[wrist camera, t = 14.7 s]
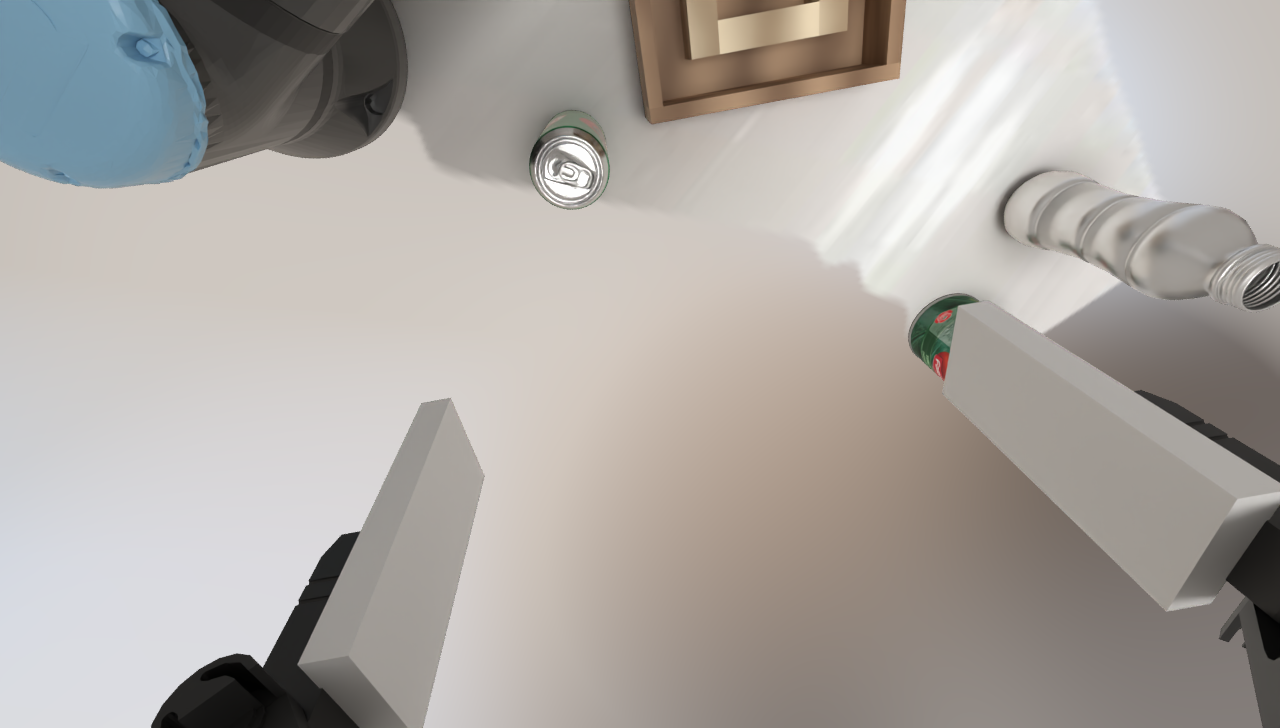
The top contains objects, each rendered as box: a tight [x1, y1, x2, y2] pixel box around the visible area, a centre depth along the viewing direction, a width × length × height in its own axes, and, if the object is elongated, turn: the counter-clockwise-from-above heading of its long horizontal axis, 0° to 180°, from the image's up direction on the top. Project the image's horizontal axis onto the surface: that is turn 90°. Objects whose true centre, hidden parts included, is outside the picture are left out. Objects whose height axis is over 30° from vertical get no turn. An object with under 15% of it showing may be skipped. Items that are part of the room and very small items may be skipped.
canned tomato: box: [908, 294, 980, 381], centre depth 49 cm, size 8×8×11 cm
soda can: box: [529, 110, 610, 209], centre depth 37 cm, size 5×5×12 cm
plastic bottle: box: [1004, 171, 1280, 312], centre depth 39 cm, size 6×7×20 cm
